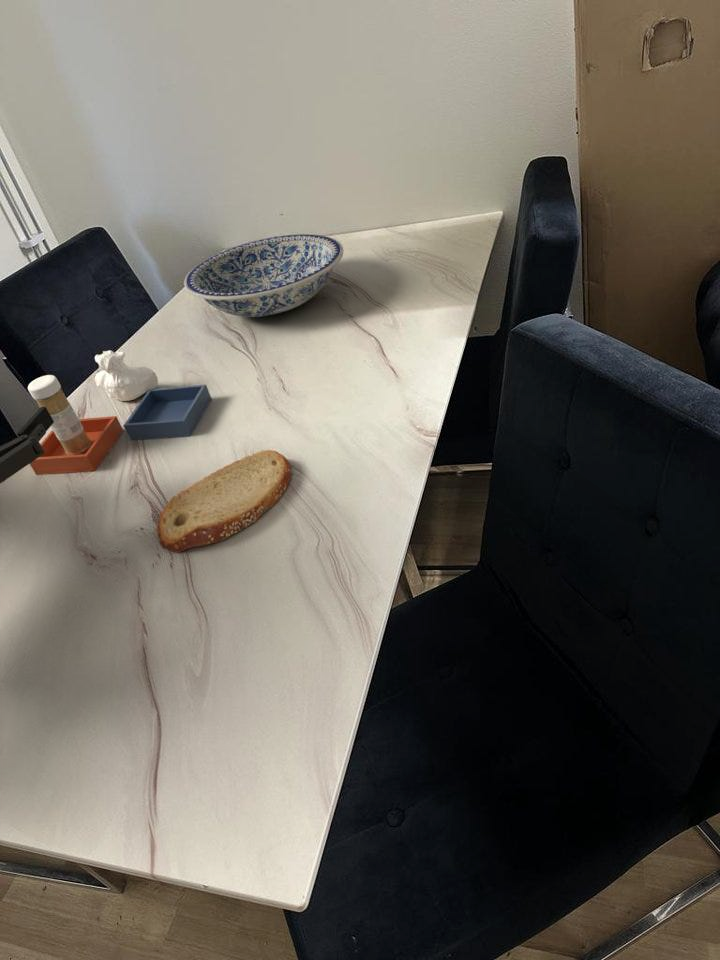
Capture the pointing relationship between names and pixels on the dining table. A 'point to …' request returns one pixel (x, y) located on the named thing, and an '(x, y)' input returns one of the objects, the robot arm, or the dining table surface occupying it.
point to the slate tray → (168, 412)
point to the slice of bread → (224, 501)
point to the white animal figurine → (123, 377)
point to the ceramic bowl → (265, 274)
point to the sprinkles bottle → (60, 414)
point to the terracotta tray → (102, 438)
